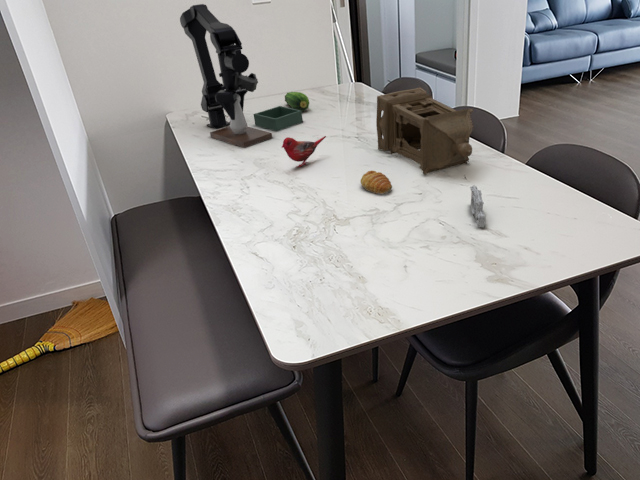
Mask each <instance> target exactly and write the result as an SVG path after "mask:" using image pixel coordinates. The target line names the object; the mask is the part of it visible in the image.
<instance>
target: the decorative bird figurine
mask: <svg viewBox="0 0 640 480" xmlns="http://www.w3.org/2000/svg"><path fill="white" fill-rule="evenodd" d="M326 138H327V135H324V136H322V137H321V138H318V139H317V140H316V141H311V140H310V141H309V140H296V139H295V138H293V137H288V136H287V137H284V139H283V141H282V145H281V149H283V150H284V151H285V152H286V155H287V157H288V158H289V159H290V160H292V161H294V162H301V163H300V164H298V166H297V165H296V166H295V168H302V167H303V166H305V165H306V164H309V162H308V161H307V160H308V159H309V158H310V157H311V156H312V155H313V154H314V153H315V151H316V149H317V147H318V146H319V144H320V143H321V142H323V141H324V140H325V139H326Z"/></svg>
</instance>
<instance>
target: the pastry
mask: <svg viewBox="0 0 640 480" xmlns="http://www.w3.org/2000/svg"><path fill="white" fill-rule="evenodd" d="M360 184H361V186H362V188H364V189H365V190H366V191H367V192H368V191H369V192H370V193H373V194H381V195H383V194H385V193H389V192H391V191H392V188H393V185H392V182H391V180H390V179H389V178H388V177H387V176H386V174H384V173H382V172H381V171H380V172H379V171H376V170H368V171H366V172H365V173H364V174H363V175H362V176H361V178H360Z"/></svg>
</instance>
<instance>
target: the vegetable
mask: <svg viewBox="0 0 640 480" xmlns="http://www.w3.org/2000/svg"><path fill="white" fill-rule="evenodd" d="M284 102H285V103H286V104H287V105H289V106H290V108H291V109H296V110H300V111H302V112H306V111H307V109H309V106H310V99H309V97H308V96H307V95H306V94H305V93H303V92H301V91H289V92H286V94H285V95H284Z"/></svg>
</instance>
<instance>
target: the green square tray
mask: <svg viewBox="0 0 640 480" xmlns="http://www.w3.org/2000/svg"><path fill="white" fill-rule="evenodd" d="M252 116H253V121H254V126H256V127H260V128H263V129H266V130H270V131H274V132H279V131H282V130H284V129H287V128H290V127H293V126H296V125H299V124H302V123H304V119H303V111H300V110H296V109H292V108H291V107H287V106H282V105H278V106H274V107H272V108H269V109H266V110H262V111H259V112H255V113H253V115H252Z"/></svg>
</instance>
